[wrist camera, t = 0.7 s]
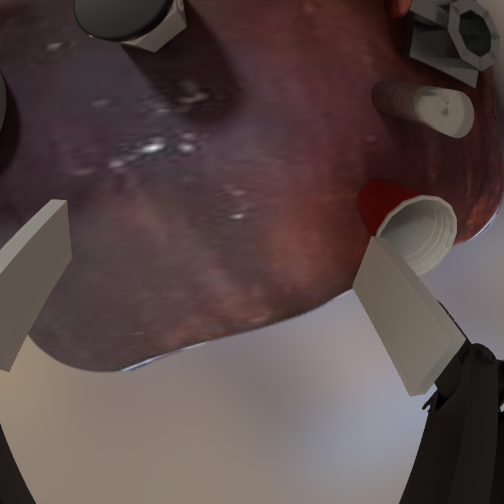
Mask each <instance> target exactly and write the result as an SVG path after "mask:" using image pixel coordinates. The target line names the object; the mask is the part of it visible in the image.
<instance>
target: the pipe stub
mask: <svg viewBox="0 0 504 504" xmlns="http://www.w3.org/2000/svg"><path fill="white" fill-rule="evenodd" d="M371 97H372V102H373V104H374V106H375V107H376V108H377V109H378V110H379V111H381V112H383V113H386V114H389V115H393V116H396V117H399V118H402V119H405V120H408V121H411V122H414V123H417V124H419V125H422V126H425V127H428V128H430V129H433V130H436V131H438V132H441V133H444V134H446V135H449V136H451V137H454V138H461V137H464V136H465V135H466V134H467V133H468V132H469V131H470V130H471V128H472V125H473V122H474V109H473V105H472V102H471V100H470V99H469V97H468V96H467V95H466V94H464V93H463V92H460V91H456V90H451V89H446V88H440V87H434V86H428V85H422V84H415V83H408V82H401V81H392V80H381V81H379V82H377V83H376V84H375V86H374V87H373V89H372V94H371Z"/></svg>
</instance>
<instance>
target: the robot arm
mask: <svg viewBox="0 0 504 504" xmlns="http://www.w3.org/2000/svg"><path fill="white" fill-rule="evenodd" d="M71 259H72V252H71V244H70V234H69V223H68V209H67V201H66V200H51V201H49V202H48V203H47V204H46V205H45V206H44V207H43V208H42V209H41V210H40V211H39V212H38V213H37V214H35V215H34V216H33V217H32V218H31V219H30V220H29V221H28V222H27V223H26V224H25V225H24V226H23V227H22V228H21V229H20V230H19V231H18V232H17V233H16V234H15V235H14V236H13V237H12V238H11V239H10V240H9V242H8V243H7V244H6V245H5V246H4V247H3V248H2V249H1V250H0V369H1V370H4V371H7V372H9V371H10V369H11V367H12V365H13V363H14V360H15V358H16V356H17V354H18V352H19V350H20V348H21V346H22V344H23V342H24V340H25V338H26V336H27V334H28V332H29V331H30V329H31V327H32V325H33V323H34V321H35V319H36V317H37V316H38V314H39V312H40V310H41V308H42V307H43V305H44V303H45V301H46V300H47V298H48V296H49V295H50V293H51V291H52V290H53V288H54V286H55V285H56V283H57V281H58V280H59V278H60V276H61V275H62V273H63V272H64V270H65V268H66V267H67V265H68V264H69V262H70V261H71ZM352 287H353V289H354V291H355V292H356V294H357V296H358V298H359V299H360V301H361V303H362V305H363V306H364V308H365V310H366V312H367V314H368V316H369V318H370V319H371V321H372V323H373V325H374V327H375V329H376V331H377V332H378V334H379V336H380V338H381V340H382V342H383V344H384V346H385V348H386V350H387V351H388V354H389V356H390V357H391V359H392V361H393V363H394V365H395V367H396V369H397V371H398V373H399V375H400V377H401V379H402V381H403V383H404V385H405V388H406V390H407V392H408V394H409V396H416V395H421V394H425V393H426V392H427V391H428V390H429V389H430V387H431V386H432V385H433V384H434V383H435V385H436V387H437V388H438V389H437V391H436V392H435V393H434V394H433V395H432V396H431V397H430V399H429V400H428V401H427V402H426V403H425V404H424V406H423V407H422V409H423V410H424V409H425V408H426V407H427V406H428V405H430V409H429V410H428V412H429V413H428V417H427V421H426V425H425V429H424V432H423V436H422V439H421V443H420V446H419V449H418V452H417V456H416V459H415V462H414V465H413V468H412V471H411V473H410V476H409V479H408V482H407V485H406V487H405V490H404V492H403V495H402V497H401V500H400V502H399V504H504V411H503V412H501V409H500V407H501V406H502V405H503V403H504V360H503V361H502V360H497V359H496V357H495V356H494V354H493V353H492V352H491V351H490V350H489V349H488V348H487V347H485V346H484V345H481V344H479V343H474V344H471V343H470V341H469V340H468V338H467V337H466V335H465V334H464V333H463V331H462V330H461V328H460V327H459V326H458V324H457V323H456V322H455V321H454V319H453V318H452V316H451V315H450V314H449V312H448V311H447V310H446V309H445V308H444V306H443V305H442V304H441V303H440V302H439V301H438V300H437V299H436V298H435V297H434V296H433V295H432V293H431V292H430V291H429V289H428V288H427V287H426V286H425V285H424V283H423V282H422V281H421V280H420V278H419V277H418V276H417V275H416V273H415V272H414V271H413V270H412V269H411V267H410V266H409V265H408V264H407V263H406V262H405V260H404V259H403V258H402V257H401V256H400V255H399V253H398V252H397V251H396V250H395V249H394V248H393V246H392V245H391V244H390V243H389V242H388V241H387V240H386V239H385V238H380V237H374V236H371V239H370V242H369V244H368V247H367V250H366V252H365V255H364V258H363V260H362V263H361V265H360V268H359V270H358V273H357V275H356V278H355V280H354V283H353V285H352ZM0 504H36V503H35V501H34V499H33V497H32V495H31V494H30V492H29V490H28V488H27V486H26V484H25V482H24V480H23V477H22V475H21V473H20V471H19V469H18V467H17V465H16V462H15V460H14V458H13V455H12V453H11V451H10V448H9V446H8V443H7V441H6V438H5V436H4V433H3V431H2V428H1V424H0Z"/></svg>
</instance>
